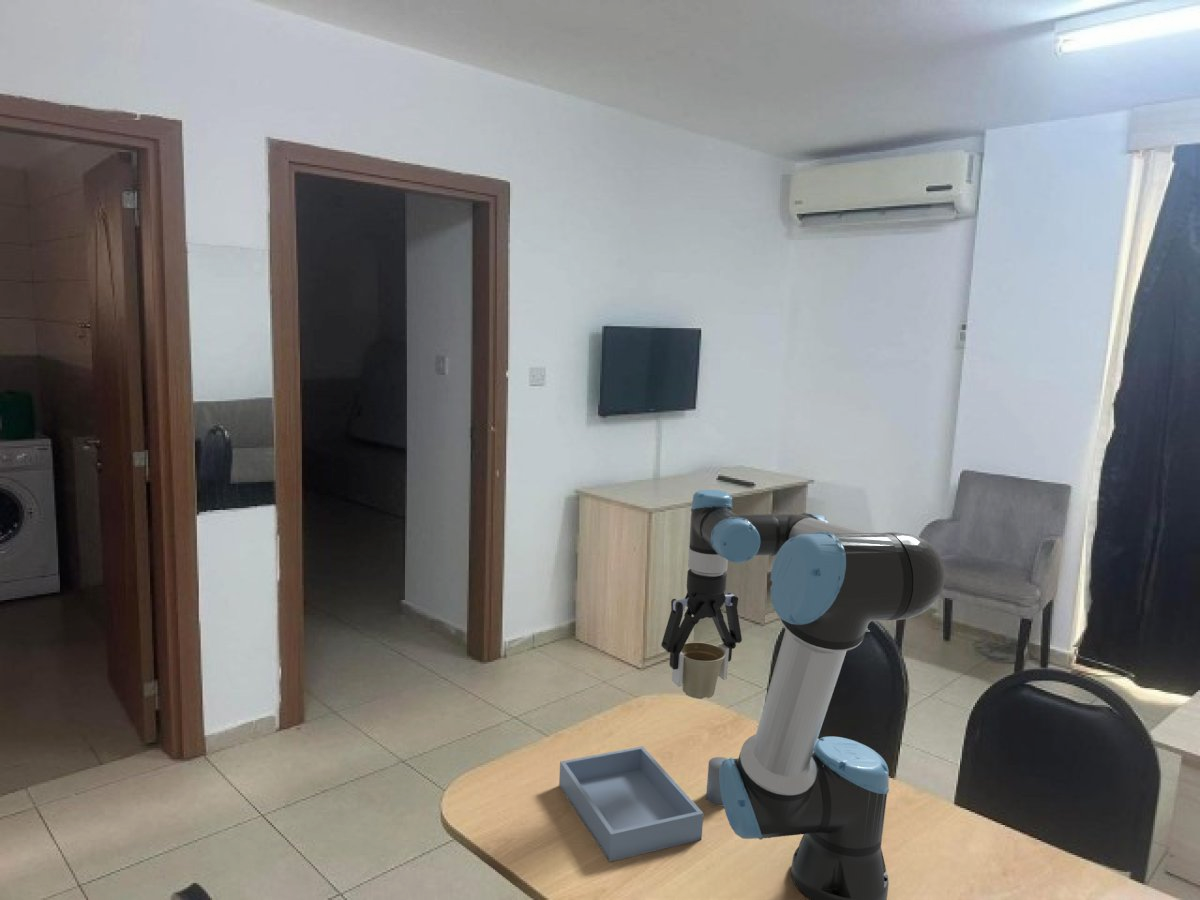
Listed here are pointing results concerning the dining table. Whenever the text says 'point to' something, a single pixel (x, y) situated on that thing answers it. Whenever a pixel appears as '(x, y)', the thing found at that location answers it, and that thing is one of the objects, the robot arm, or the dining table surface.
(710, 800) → the canister
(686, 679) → the flower pot
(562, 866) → the dining table surface
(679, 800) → the tote
